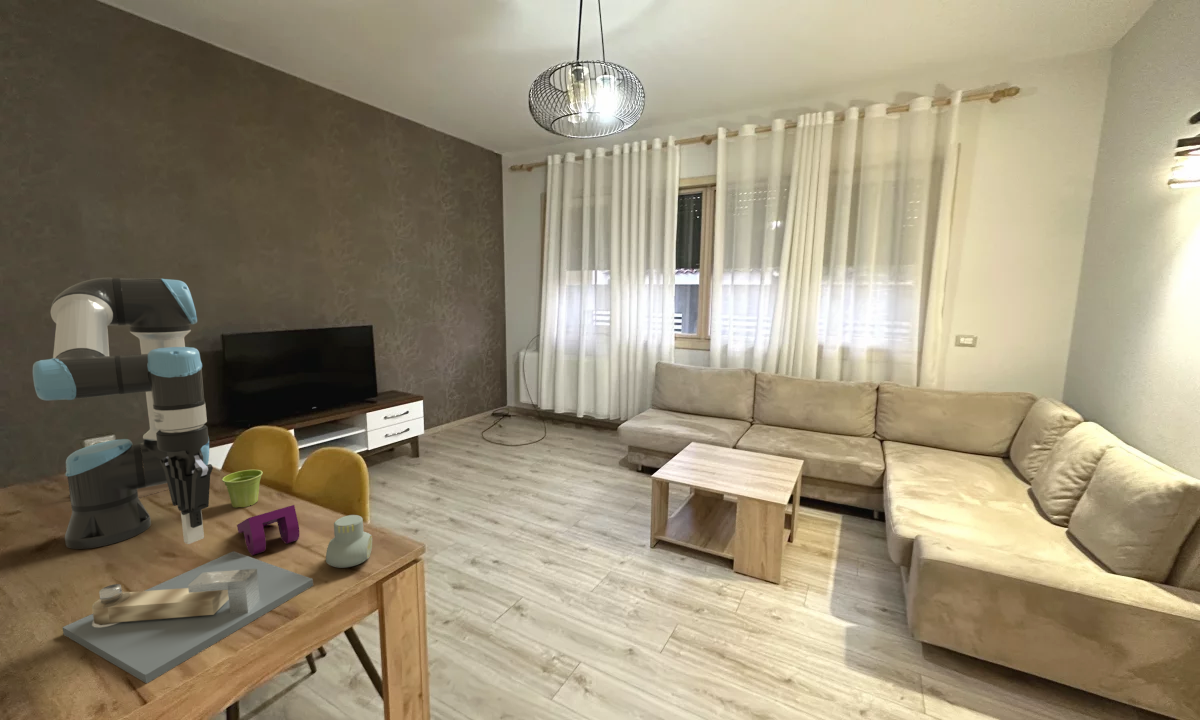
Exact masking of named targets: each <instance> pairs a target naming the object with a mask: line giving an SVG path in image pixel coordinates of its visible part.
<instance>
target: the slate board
mask: <svg viewBox="0 0 1200 720" xmlns="http://www.w3.org/2000/svg"><path fill="white" fill-rule="evenodd" d="M246 569H257V576H258V587H259V598H260V600H259V601H258V602H257V603H256V604H255V605H254V606H253V608H252V609H251V610H250V611H249V612H248V613H239V614H230V604H229V600H228V601H227V602H226V603H225V604H224V605H223V606H222V607H221V608H220V609H219V610H218V611H217V612H216V613H215V614H214V615H203V616H190V617H178V618H165V619H152V620H140V621H127V622H121V623H118V624H116V625H113V626H109V627H105V628H94V627H93V626H92V622H93V621H94V617H93V613H91V614H90V615H87V616H85V617H82V618H80V619H78V620H76V621H74V622H71V623H69V624H66V625H65V626H62V632H63V636H65V637H66V638H68V637H69V638H68V639H70V640H71V641H73V642H75V643H77V644H79V645H80V646H82V647H83V648H85V649H86V650H89V651H91V652H92V653H94V654H95V655H98V656H99V657H101V658H102V659H104V660H106V661H107V662H109V663H111V664H113V665H114V666H116V667H118V669H119V668H120V669H122V671H124V672H126V673H128V674H130V675H131V676H133V677H134V678H136V679H138V680H140V681H141V682H143V683H145V684H149V682H151V681H154V680H155V679H157V678H159V677H161V676H162V675H163V674H166V673H167V672H168V671H170V670H172V669H174V668H176V667H177V666H179V665H181V664H182V663H184V662H186V661H188V660H189V659H190V658H193V657H194V656H196V655H198V654H199V653H201V652H202V651H204V650H206V649H208V648H210V647H211V646H213V645H214V644H216V643H218V642H220V641H222V640H223V639H225V638H227V637H228V636H230V635H232V634H233V633H235V632H236V631H238V630H240V629H242V628H243V627H245V626H247V625H249V624H251V623H252V622H253V621H255V620H258V619H259V618H260V617H262V616H265V615H266V614H267V613H269V612H270V611H273V610H274V609H276V608H277V607H279V606H281V605H282V604H284V603H286V602H287V601H289V600H291V599H293V598H295V597H297V596H298V595H299V594H301V593H303V592H305V591H306V590H308V589H310V588H311V587H314V580H313V578H312V577H309V576H306V575H303V574H300V573H297V572H294V571H292V570H288V569H285V568H283V567H279V566H277V565H274V564H272V563H269V562H266V561H262V560H260V559H257V558H254V557H251V556H249V555H246V554H243V553H239V552H237V551H234V550H233V551H231V552H228V553H226V554H224V555H221V556H219V557H217V558H215V559H213V560H211V561H208V562H206V563H204V564H202V565H199V566H197V567H194V568H192V569H191V570H188V571H186V572H183V573H182V574H179V575H177V576H174V577H173V578H170V579H167V580H166V581H163V582H161V583H158V584H156V585H154V586H152V587H150V588H148V589H144V591H153V590H167V589H181V588H188V585H189V584H190V583H191V582H192V581H193V580H195V579H196V578H197V577H198V576H199V575H200V574H201V573H205V572H219V571H232V570H246ZM228 598H229V594H228Z"/></svg>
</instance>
